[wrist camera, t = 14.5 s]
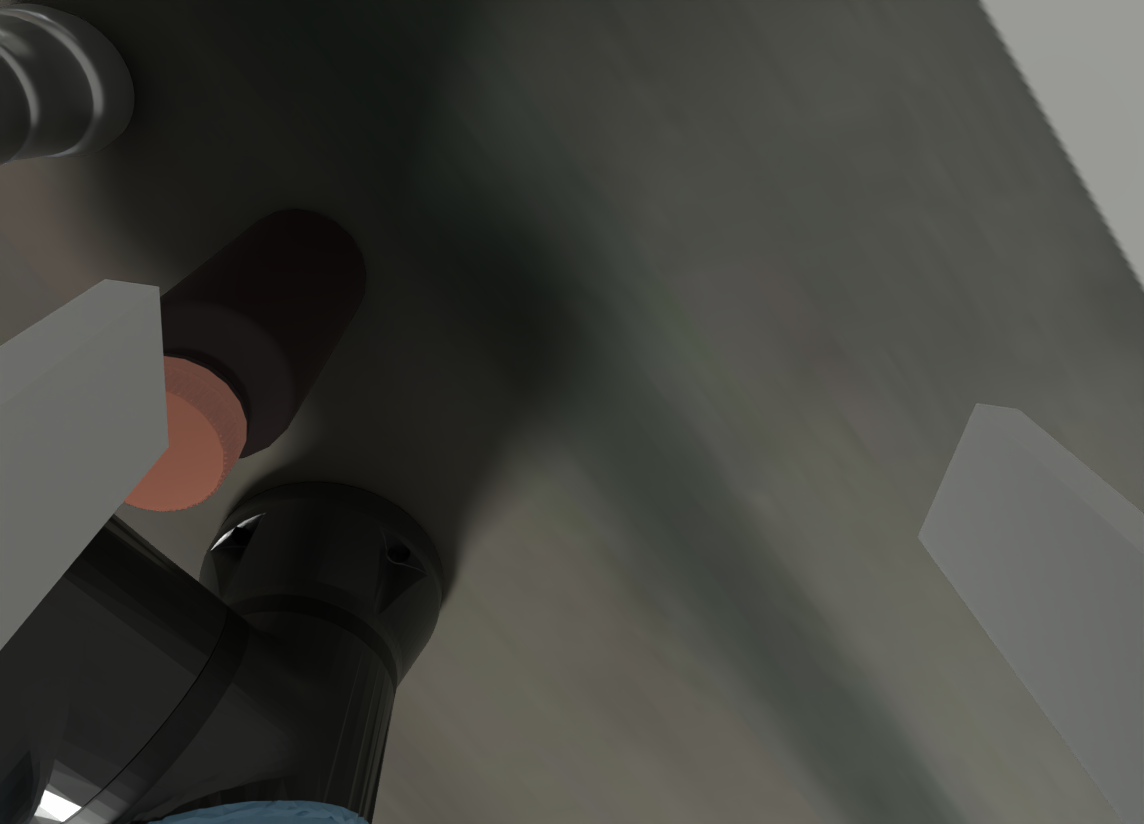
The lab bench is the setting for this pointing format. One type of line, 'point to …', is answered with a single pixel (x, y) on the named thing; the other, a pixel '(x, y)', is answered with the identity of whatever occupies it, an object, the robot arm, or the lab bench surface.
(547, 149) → the lab bench surface
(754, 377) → the lab bench surface
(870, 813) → the lab bench surface
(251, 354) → the vinegar
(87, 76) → the plastic bottle
